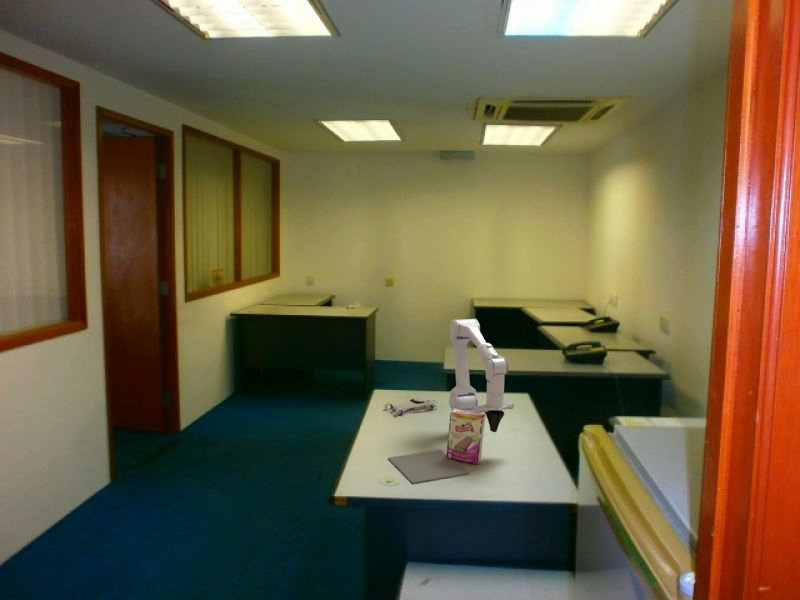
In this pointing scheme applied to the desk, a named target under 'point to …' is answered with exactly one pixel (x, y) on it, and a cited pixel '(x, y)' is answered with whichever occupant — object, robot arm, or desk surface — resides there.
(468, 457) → the candy bar box
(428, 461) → the mat
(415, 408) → the car model
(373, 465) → the desk surface
